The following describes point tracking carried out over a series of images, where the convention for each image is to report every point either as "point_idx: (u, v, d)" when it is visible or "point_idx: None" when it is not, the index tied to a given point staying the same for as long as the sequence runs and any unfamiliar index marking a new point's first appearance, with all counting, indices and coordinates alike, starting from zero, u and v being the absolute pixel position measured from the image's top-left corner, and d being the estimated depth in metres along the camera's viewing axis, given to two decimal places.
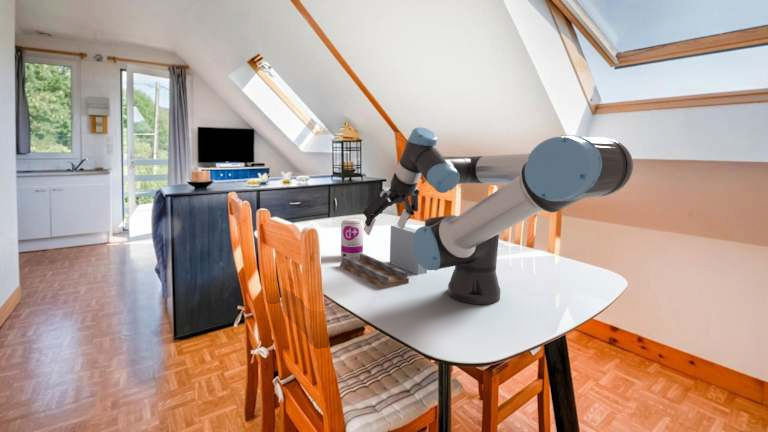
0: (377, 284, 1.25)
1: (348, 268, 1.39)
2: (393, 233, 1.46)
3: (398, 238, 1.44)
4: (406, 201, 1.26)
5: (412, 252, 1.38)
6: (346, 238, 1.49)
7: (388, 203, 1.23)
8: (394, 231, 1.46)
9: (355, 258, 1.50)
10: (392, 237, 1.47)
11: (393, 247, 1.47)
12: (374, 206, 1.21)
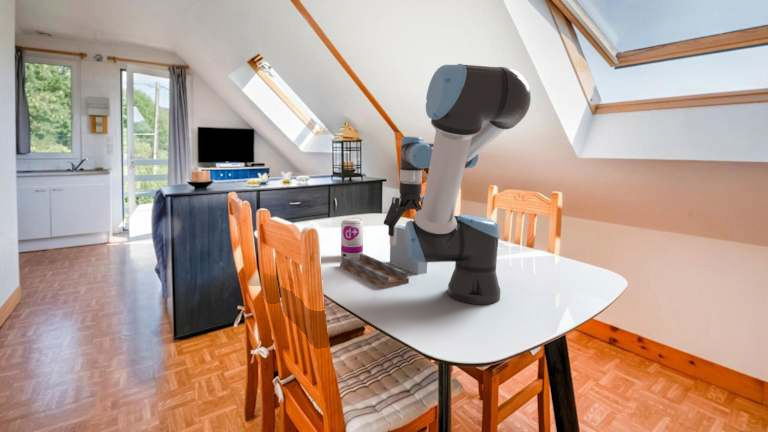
0: (377, 284, 1.25)
1: (348, 268, 1.39)
2: None
3: (398, 238, 1.44)
4: (418, 206, 1.41)
5: None
6: (346, 238, 1.49)
7: (402, 208, 1.38)
8: None
9: (355, 258, 1.50)
10: None
11: (393, 247, 1.47)
12: (391, 212, 1.36)
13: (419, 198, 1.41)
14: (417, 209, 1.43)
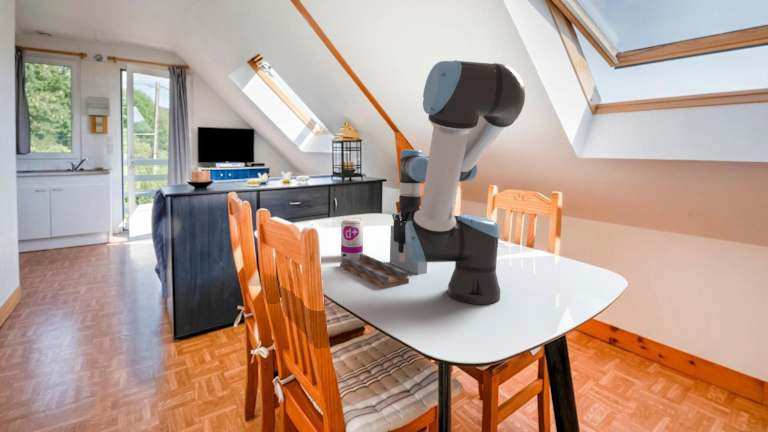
0: (377, 284, 1.25)
1: (348, 268, 1.39)
2: (393, 233, 1.46)
3: None
4: None
5: None
6: (346, 238, 1.49)
7: (405, 223, 1.39)
8: None
9: (355, 258, 1.50)
10: (392, 237, 1.47)
11: (393, 247, 1.47)
12: (397, 230, 1.38)
13: None
14: None
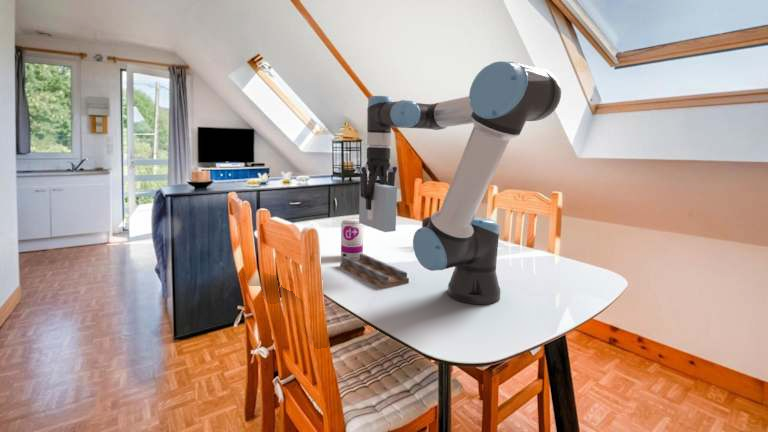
0: (377, 284, 1.25)
1: (348, 268, 1.39)
2: None
3: None
4: (384, 174, 1.30)
5: (379, 208, 1.28)
6: (346, 238, 1.49)
7: (373, 177, 1.29)
8: None
9: (355, 258, 1.50)
10: None
11: (362, 205, 1.37)
12: (363, 184, 1.28)
13: (388, 165, 1.31)
14: (382, 178, 1.32)
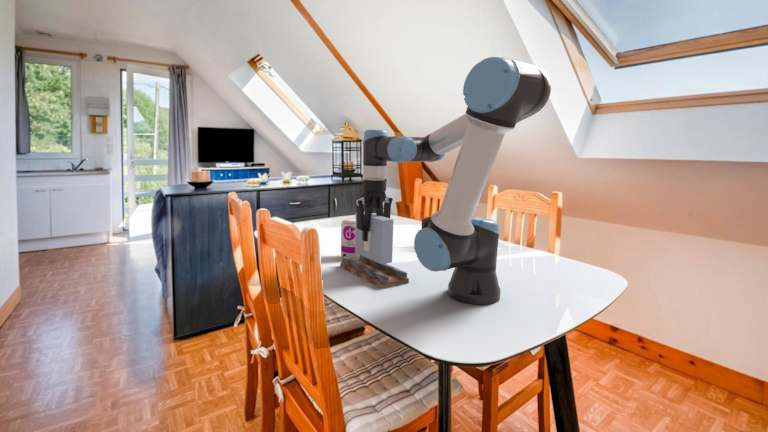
0: (377, 284, 1.25)
1: (348, 268, 1.39)
2: None
3: None
4: (380, 206, 1.31)
5: (376, 240, 1.29)
6: (346, 238, 1.49)
7: (369, 209, 1.30)
8: None
9: (355, 258, 1.50)
10: None
11: (358, 235, 1.37)
12: (359, 217, 1.28)
13: (384, 196, 1.32)
14: (378, 210, 1.33)
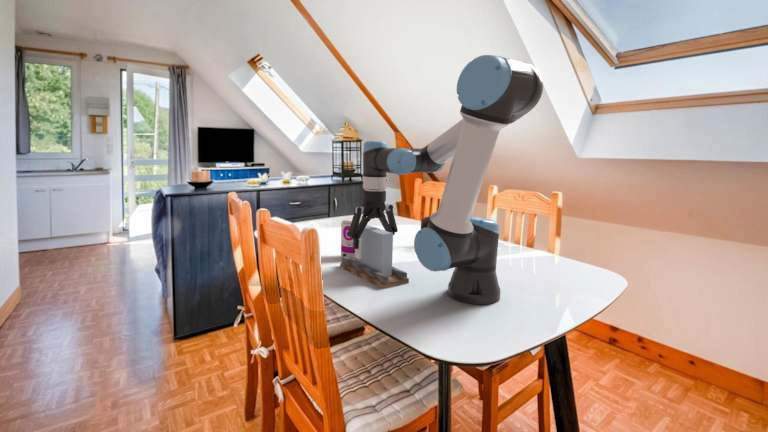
0: (377, 284, 1.25)
1: (348, 268, 1.39)
2: None
3: (362, 239, 1.35)
4: (382, 215, 1.32)
5: (376, 254, 1.30)
6: (346, 238, 1.49)
7: (366, 218, 1.29)
8: None
9: None
10: None
11: None
12: (354, 224, 1.28)
13: (384, 206, 1.33)
14: (381, 219, 1.34)
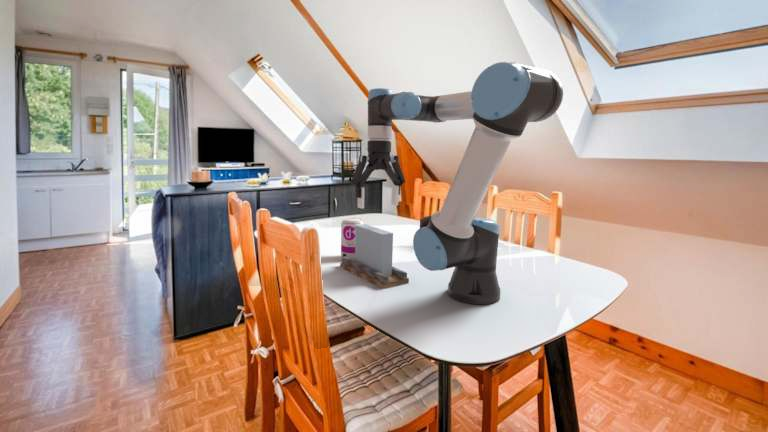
0: (377, 284, 1.25)
1: (348, 268, 1.39)
2: (358, 233, 1.38)
3: (362, 239, 1.35)
4: (388, 166, 1.30)
5: (376, 254, 1.30)
6: (346, 238, 1.49)
7: (371, 168, 1.27)
8: (359, 231, 1.37)
9: None
10: (357, 237, 1.38)
11: (358, 248, 1.38)
12: (358, 171, 1.25)
13: (389, 158, 1.31)
14: (387, 170, 1.32)
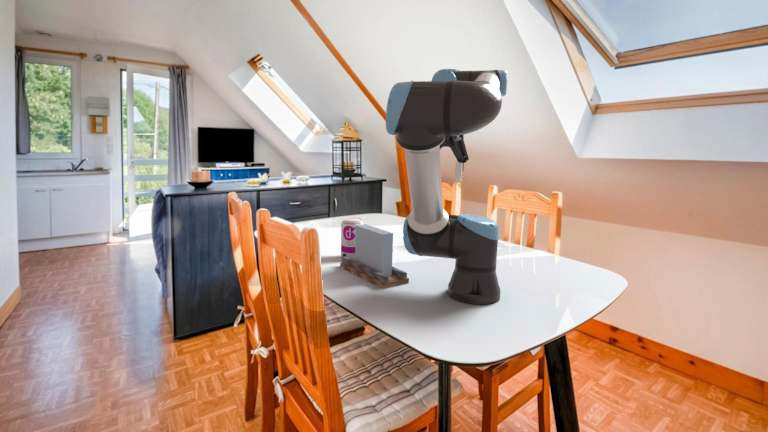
0: (377, 284, 1.25)
1: (348, 268, 1.39)
2: (358, 233, 1.38)
3: (362, 239, 1.35)
4: (455, 143, 1.38)
5: (376, 254, 1.30)
6: (346, 238, 1.49)
7: (440, 144, 1.35)
8: (359, 231, 1.37)
9: None
10: (357, 237, 1.38)
11: (358, 248, 1.38)
12: None
13: (456, 136, 1.38)
14: (453, 147, 1.40)
